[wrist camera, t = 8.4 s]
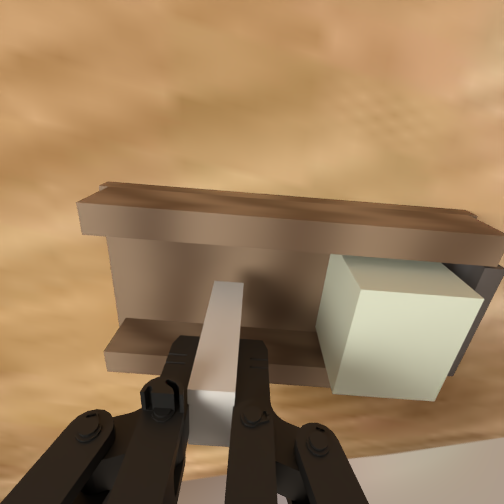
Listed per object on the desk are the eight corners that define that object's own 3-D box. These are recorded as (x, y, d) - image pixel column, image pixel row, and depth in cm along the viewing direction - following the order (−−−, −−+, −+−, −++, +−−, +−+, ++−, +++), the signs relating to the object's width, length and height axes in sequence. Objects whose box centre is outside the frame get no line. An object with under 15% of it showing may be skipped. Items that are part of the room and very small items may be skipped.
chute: (126, 325, 21) (98, 370, 17) (107, 181, 16) (64, 201, 13) (411, 346, 21) (443, 396, 17) (465, 210, 17) (522, 237, 13)
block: (315, 326, 19) (332, 393, 14) (333, 240, 16) (360, 289, 12) (393, 332, 19) (434, 401, 15) (422, 247, 16) (484, 299, 12)
